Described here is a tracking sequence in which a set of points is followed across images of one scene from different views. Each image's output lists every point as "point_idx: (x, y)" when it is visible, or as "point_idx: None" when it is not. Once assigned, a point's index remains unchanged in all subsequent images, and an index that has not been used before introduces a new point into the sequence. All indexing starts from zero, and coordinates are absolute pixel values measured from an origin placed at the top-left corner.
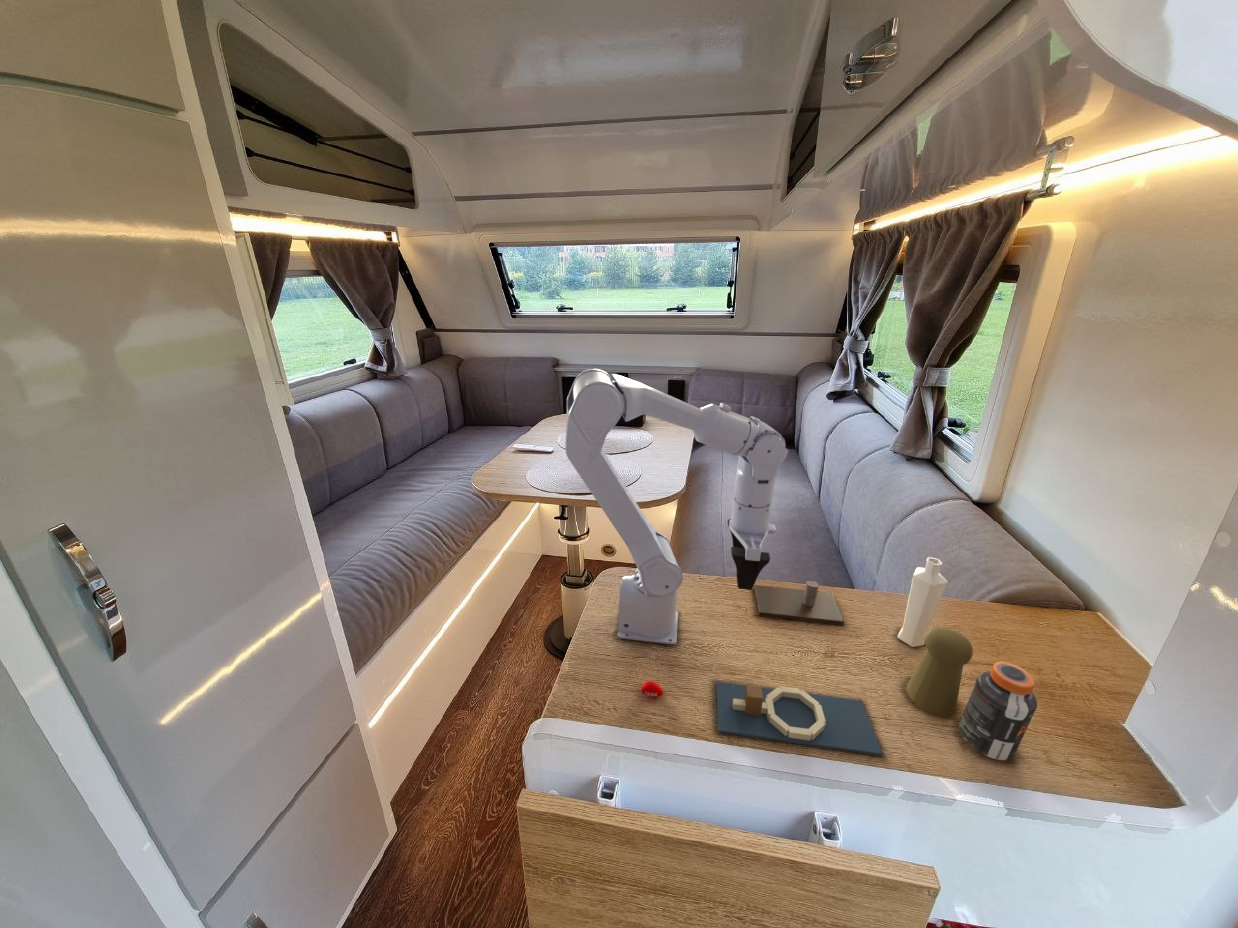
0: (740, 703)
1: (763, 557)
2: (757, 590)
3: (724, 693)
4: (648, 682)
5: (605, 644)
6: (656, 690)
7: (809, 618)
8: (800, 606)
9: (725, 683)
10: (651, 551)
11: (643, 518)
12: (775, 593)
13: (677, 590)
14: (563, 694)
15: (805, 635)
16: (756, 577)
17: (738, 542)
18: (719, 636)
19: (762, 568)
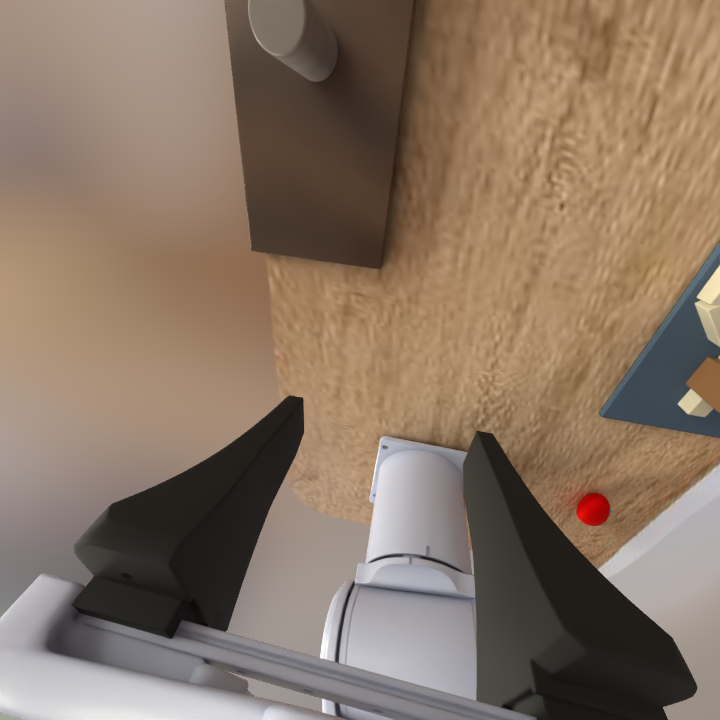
0: (710, 405)
1: (648, 691)
2: (278, 249)
3: (640, 410)
4: (588, 522)
5: None
6: (608, 514)
7: (405, 79)
8: (339, 101)
9: (614, 403)
10: None
11: None
12: (281, 189)
13: (432, 542)
14: None
15: (479, 125)
16: (529, 492)
17: (262, 502)
18: (457, 376)
19: (597, 570)
